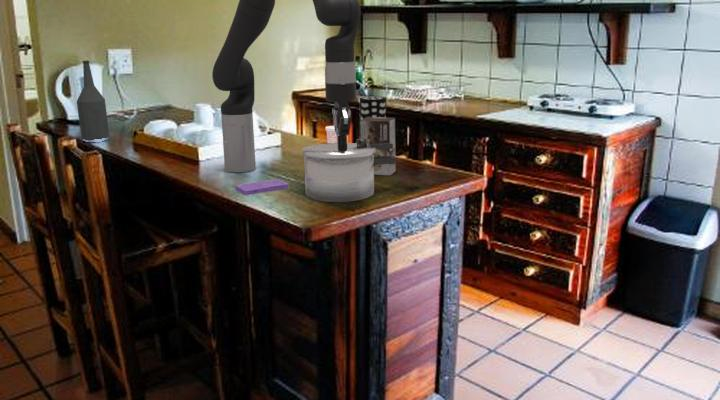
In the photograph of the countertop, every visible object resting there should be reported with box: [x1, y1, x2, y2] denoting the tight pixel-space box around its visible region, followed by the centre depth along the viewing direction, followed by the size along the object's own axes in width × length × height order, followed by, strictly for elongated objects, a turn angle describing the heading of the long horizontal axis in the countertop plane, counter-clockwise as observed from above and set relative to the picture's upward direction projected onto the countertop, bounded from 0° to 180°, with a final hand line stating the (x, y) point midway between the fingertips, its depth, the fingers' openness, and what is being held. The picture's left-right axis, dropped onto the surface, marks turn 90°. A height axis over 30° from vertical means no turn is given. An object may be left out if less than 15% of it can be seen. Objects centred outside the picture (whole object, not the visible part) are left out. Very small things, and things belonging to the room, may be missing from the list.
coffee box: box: [359, 116, 397, 176], centre depth 183 cm, size 9×6×16 cm
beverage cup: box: [325, 125, 337, 143], centre depth 210 cm, size 6×6×14 cm
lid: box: [301, 138, 393, 159], centre depth 161 cm, size 24×20×3 cm
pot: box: [303, 155, 397, 203], centre depth 163 cm, size 24×18×10 cm
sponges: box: [235, 178, 290, 196], centre depth 168 cm, size 7×13×2 cm, turn 120°
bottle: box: [76, 60, 111, 140], centre depth 234 cm, size 10×10×30 cm
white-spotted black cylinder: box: [359, 96, 387, 139], centre depth 198 cm, size 8×8×20 cm
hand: (342, 150), depth 157 cm, fingers closed
